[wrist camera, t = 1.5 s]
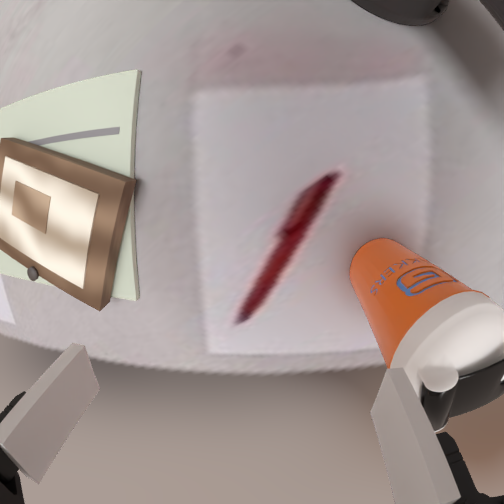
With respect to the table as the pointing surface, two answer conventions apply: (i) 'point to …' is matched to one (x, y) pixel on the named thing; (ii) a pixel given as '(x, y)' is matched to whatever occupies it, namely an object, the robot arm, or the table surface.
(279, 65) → the table surface
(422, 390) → the shaker bottle
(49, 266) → the frame
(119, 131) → the wall panel
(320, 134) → the table surface
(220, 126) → the table surface
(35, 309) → the table surface
